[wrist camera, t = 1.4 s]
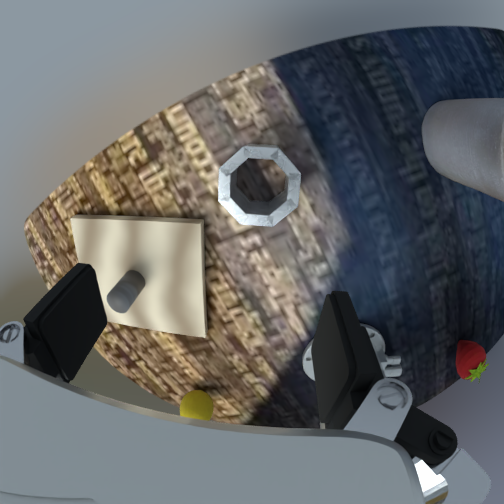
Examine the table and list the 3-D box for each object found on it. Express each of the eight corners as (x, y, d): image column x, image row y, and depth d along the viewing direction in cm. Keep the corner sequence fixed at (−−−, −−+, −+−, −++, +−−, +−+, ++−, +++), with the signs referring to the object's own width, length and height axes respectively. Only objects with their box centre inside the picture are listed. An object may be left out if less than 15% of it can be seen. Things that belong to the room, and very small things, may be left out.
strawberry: (446, 361, 38) (466, 400, 29) (444, 338, 36) (468, 380, 27) (471, 345, 37) (493, 382, 28) (471, 320, 34) (498, 359, 25)
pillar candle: (487, 138, 22) (572, 159, 9) (455, 194, 26) (538, 241, 13) (440, 83, 21) (531, 73, 7) (405, 143, 25) (496, 162, 11)
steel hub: (297, 147, 26) (303, 150, 22) (291, 212, 29) (295, 228, 25) (228, 142, 27) (219, 145, 22) (226, 207, 29) (218, 222, 25)
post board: (203, 219, 30) (187, 242, 24) (207, 330, 37) (197, 364, 31) (76, 214, 31) (46, 232, 25) (98, 312, 38) (78, 338, 32)
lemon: (181, 380, 43) (169, 417, 36) (211, 381, 42) (202, 419, 35) (191, 398, 45) (182, 433, 38) (220, 399, 44) (213, 435, 37)
